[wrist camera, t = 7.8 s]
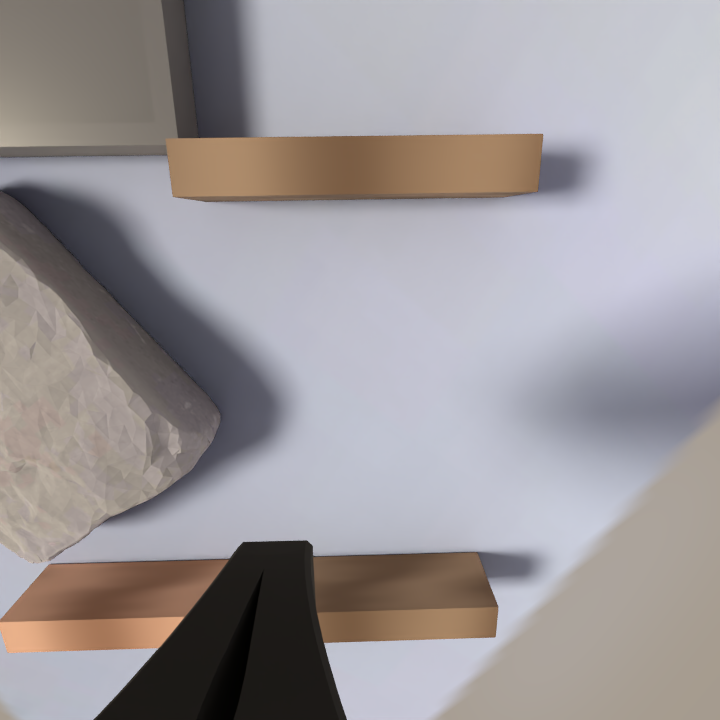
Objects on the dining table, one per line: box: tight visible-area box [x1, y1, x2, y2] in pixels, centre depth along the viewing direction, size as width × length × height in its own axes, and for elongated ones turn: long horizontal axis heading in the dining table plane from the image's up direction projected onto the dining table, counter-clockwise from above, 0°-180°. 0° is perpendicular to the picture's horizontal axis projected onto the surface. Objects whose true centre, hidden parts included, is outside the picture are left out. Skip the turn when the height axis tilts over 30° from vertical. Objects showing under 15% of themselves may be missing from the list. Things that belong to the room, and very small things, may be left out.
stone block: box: [0, 191, 221, 563], centre depth 16 cm, size 12×5×10 cm
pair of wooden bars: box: [0, 134, 543, 653], centre depth 16 cm, size 19×18×3 cm
